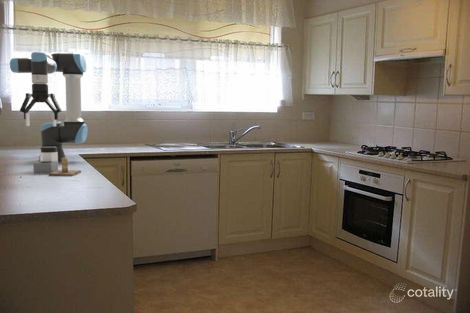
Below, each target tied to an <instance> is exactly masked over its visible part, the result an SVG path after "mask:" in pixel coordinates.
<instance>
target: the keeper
mask: <svg viewBox="0 0 470 313" xmlns="http://www.w3.org/2000/svg"><path fill="white" fill-rule="evenodd" d="M68 160H69V158H68V157H66V158H62V161H61V169H58V170H57V171H54V172H51V173H47V174H48V177H51V176H52V177H53V176H55V177H74V176H76V175H78V174H81V172H82V170H81V169H80V170H79V169H77V170H73V169H72V170H71V169H70V170H69V164H68V163H69V162H68Z"/></svg>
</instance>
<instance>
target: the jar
mask: <svg viewBox="0 0 470 313" xmlns="http://www.w3.org/2000/svg"><path fill="white" fill-rule="evenodd" d="M39 156H40V161H58V152H57V147H55V146H46V147H42V146H40V152H39ZM58 162H59V161H58Z"/></svg>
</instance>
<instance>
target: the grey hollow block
mask: <svg viewBox="0 0 470 313" xmlns="http://www.w3.org/2000/svg"><path fill="white" fill-rule="evenodd" d="M57 170H59V161H39V160H38V161H36V162H33V174H49V173H51V172H54V171H57Z"/></svg>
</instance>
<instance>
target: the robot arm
mask: <svg viewBox="0 0 470 313" xmlns="http://www.w3.org/2000/svg"><path fill="white" fill-rule="evenodd" d="M85 58H86V57H85V56H84V55H83V53H82V52H77V51H76V52H75V51H68V52H67V51H66V52H64V51H63V52H62V51H61V52H60V51H57V52H56V51H55V52H50V53H46V52H43V51H42V52H40V51H34V52H31V55H30V57H16V58H15V57H14V58H11V59H10V61H9V69H10V70H11V72H12V73H13V74H31V83H32V84H31V92H32V93H25V98H24V100H23V102H22V104H21V106H20V109H19V112H21V113H23V119H24V120H25V127H30V126H31V125H30V124H31V123H30V120H31V119H30V110H31V109H32V107H34V105H36V103H45V104H46V105H47V106H48V107H49V109H50V110H51V111H52V112H53V113H52V116H51V117H52V122H46V123H42V124H41V125H40V128H41V129H40V137H41V147H46V146H55V147H57V152H58V162H62V158H67V157H66V153H65V152H64V149H63V144H83V143H84V142H86V140H87V137H88V132H89V131H88V130H89V129H88V125H87V124H86V123H85V120H84V119H83V118H82V93H81V92H82V90H81V89H82V88H81V86H82V85H81V83H82V82H81V78H82V77H83V76H84V73H86V71H87V62H86V59H85ZM55 72H57V73H62V76H63V77H64V79H65V112H66V113H65V114H66V115H65V120H63V123H62V121H57V120H58V119H59V113H61V112H62V109H61V107H60V104H59V103H58V101H57V98H56V95H55V93H49V84H48V83H49V77H48V76H49V75H50V74H54V73H55ZM31 98H32V99H31ZM49 98H50V99H51V102H52V103H53V104H52V103H51V102H50V100H49ZM30 100H31V101H30ZM29 101H30V103H29ZM28 103H29V104H28ZM39 161H40V155H39V156H38V162H39Z"/></svg>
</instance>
